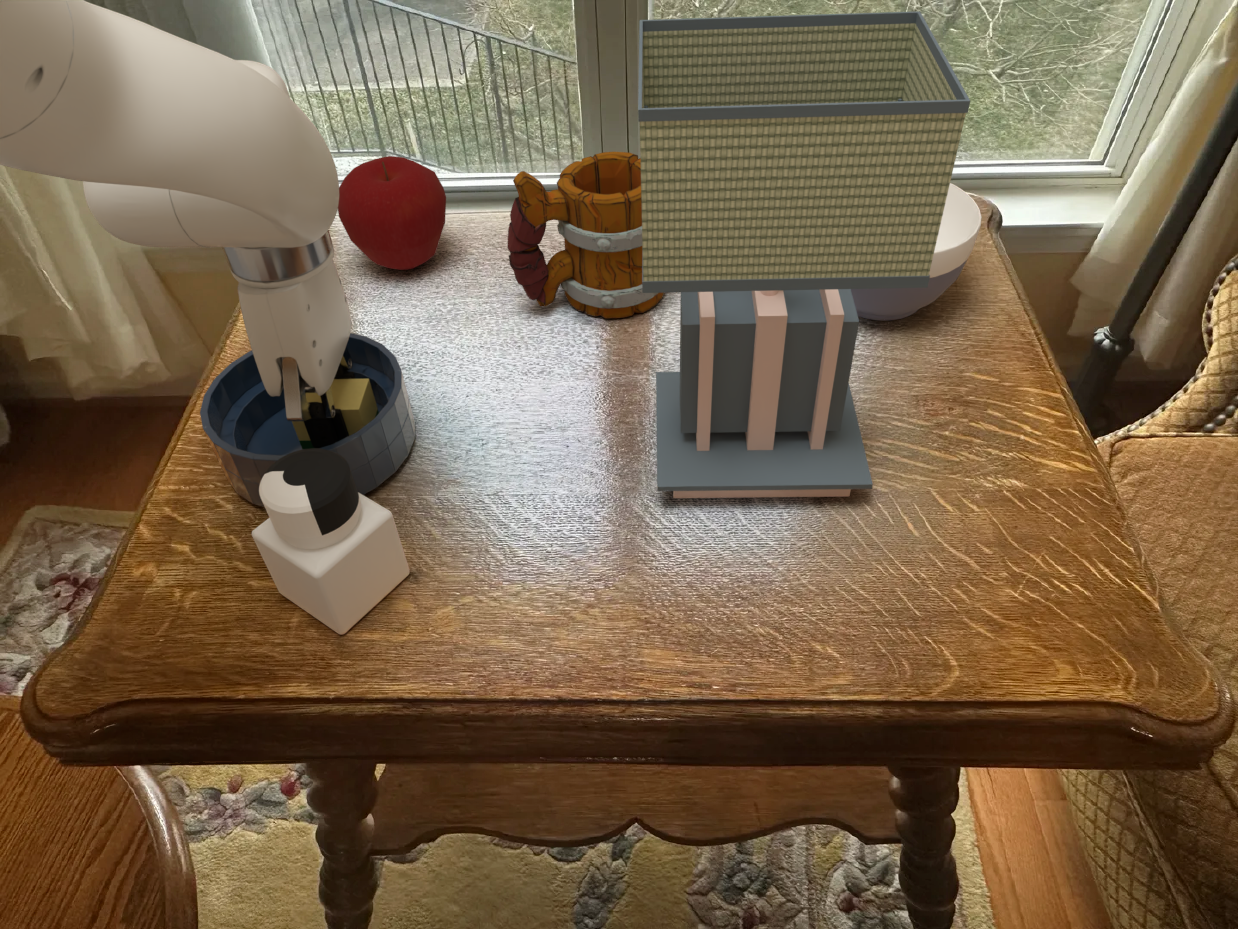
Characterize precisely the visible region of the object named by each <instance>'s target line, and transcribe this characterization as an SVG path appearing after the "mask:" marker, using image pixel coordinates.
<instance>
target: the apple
mask: <svg viewBox="0 0 1238 929" xmlns="http://www.w3.org/2000/svg"><path fill="white" fill-rule="evenodd" d="M446 210H447V195H446V192H445V189H444V186H443V184H442V183H441V181H440V179H439V177H438V175H437V173H436V172H435V171H434V170H432V169H431V168H428V167H427V166H425V165H423V164H421V163H418V162H417V161H414V160H412V159H410V158H406V157H404V156H394V155H386V156H382V157H378V158H375V159H371V160H368V161H365V162H363V163H361V164H359V165H356V166H355V167H353V169H352V170H351V171H350V172H349V173H348V174H347V175H346V176H345V177H344V179H343V180H342V182H341V183H340V184H339V204H338V209H337V212H338V218H339V221H340V222H341V225H342V226H343V228H344V230H345V232H346V234H347V236H348V237H349V240H350V241H351V242H352V244H353V245H354V246H356V248H357V249H358V250H360V252H361V253H363V255H364V256H366V258H368V260H370V261H371V262H372V263H374V264H376V265H378V266H381V267H384V268H387V269H392V270H398V271H407V270H408V271H409V270H413V269H415V268H417V267H419V266H421V265H423V264H425V263H426V262H428V261H429V260H430V259H432V258H433V257H434V256H435V254H436V252H437V249H438V248H439V243H440V240H441V238H442V234H443V230H444V227H445V224H446V214H447V212H446Z"/></svg>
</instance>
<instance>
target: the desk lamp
mask: <svg viewBox="0 0 1238 929" xmlns="http://www.w3.org/2000/svg"><path fill="white" fill-rule="evenodd" d="M638 25H639V26H638V29H639V30H638V33H639V34H638V89H637V90H638V92H637V95H638V96H637V97H638V98H637V99H638V100H637V117H638V118H637V120H638V122H639V150H640V151H639V152H640V156H639V158H641V202H642V293H664V294H665V293H680V316H679V318H680V322H679V326H680V327H679V335H680V336H679V371H655V393H656V394H655V397H656V398H655V401H656V402H655V403H656V406H655V407H656V409H655V411H656V412H655V413H656V414H655V415H656V490H657V492H672V495H673V496H672V497H673V498H672V499H730V498H731V499H732V498H734V499H735V498H740V499H741V498H826V497H827V498H831V497H833V498H834V497H838V498H839V497H850V495H851V490H872V489H873V480H872V475H871V471H870V467H869V466H870V465H869V462H868V458H867V455H866V450H865V445H864V441H863V438H862V432H861V429H860V424H859V420H858V416H857V412H856V411H857V410H856V408H855V403H854V399H853V395H852V390H851V386H850V378H851V370H852V365H853V360H854V354H855V348H856V342H857V337H858V332H859V326H860V319H859V316H858V315H857V311H856V308H855V304H854V300H853V296H852V293H851V289H879V288H927V287H928V283H929V278H930V275H929V272H930V268H931V263H932V259H933V255H934V250H935V246H936V242H937V237H938V233H939V229H940V224H941V220H942V215H943V211H944V207H945V202H946V198H947V194H948V189H949V185H950V183H951V180H952V176H953V171H954V167H955V162H956V158H957V154H958V150H959V146H960V141H961V138H962V137H961V136H962V133H963V128H964V124H965V120H966V115H967V114H969V109H970V103H971V99H970V97H969V96H968V94H967V92H966V90H965V89H964V87H963V85H962V83H961V82H960V80H959V78H958V76H957V74H956V73H955V71H954V69H953V67H952V66H951V64H950V62H949V60H948V59H947V57H946V55H945V53H944V51H943V50H942V48H941V46H940V44H939V42H938V41H937V39H936V37H935V36H934V33H933V31H932V30H931V28H930V26H929V25H928V23H927V22H926V19H925V18H924V16H923V14H922V12H921V11H920V10H919V11H887V12H883V11H882V12H856V13H855V12H853V13H852V12H851V13H850V12H849V13H822V14H821V13H819V14H795V15H794V14H792V15H791V14H790V15H789V14H787V15H786V14H785V15H759V16H757V15H756V16H753V15H752V16H726V17H725V16H724V17H694V18H691V17H690V18H689V17H688V18H663V19H661V18H660V19H639V24H638Z"/></svg>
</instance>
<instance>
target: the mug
mask: <svg viewBox="0 0 1238 929" xmlns="http://www.w3.org/2000/svg"><path fill="white" fill-rule="evenodd" d="M512 181H513V184H514V187H515V188H516V191H517V194H518V196H517V197H515V198H514V201H513V203H512V206H511V209H510V213H509V218H510V222H509V224H508V230H507V250H508V251H509V255H508V261H509V265H510V267H511V269H512V270H513V273H514V274H513V275H514V278H515V281H516V282H517V284H518V285H520V286H521V287H522V289H523V290H524V293H525V295H526V296H527V297H528V299H529V300H531V301H536V303H537V304H538V306H539V307H540V308H544V307H545V308H546V307H548V306H550V305H552V304H554V302H555V300H556V297H557V292H558V291H559V290H558V289H559V287H561V289H562V290H563V291H564V296H565V298H566V300H567V302H568V303H569V304H570V306H571V307H572V308H574V309H575V310H576V311H578V312H581V313H583V314H584V313H585V315H588V316H592V317H595V318H596V317H599V316H601V317H603V318H604V319H625V318H629V317H633V316H634V314H635V313H636V314H644V313H646V312H648V311H650V310H652V309H653V308H655V307H657V305H658V304H659V303H660V302H661V300H662V299H663V298H664V295H665V293H642V202H641V158H640V157H639V155H638V154H635V153H633V152H628V151H604V152H599V153H595V154H593V156H590V155H589V156H586V157H583V158H581V160H575V161H574V162H572V163H570V164H568V165H567V166H566V167H565V168H564V169H562V171H561V172H560V174H559V178H558V180H557V181H556V186H557V189H551V190H550V191H547V190H546V188H545V186H544V184H542V182H541V181H540V180H539V179H538V178H536V177H535V176H534V175H532V174H530V173H528V172H526V171H525V170H522V171H519V172H518V173H517V174H516V175H515V177H514V178H513V179H512ZM550 221H558V222H557V223H558V224H557V226H556V227H557V231H558V232H557V233H558V234H559V235H560V236H562V237H563V242H564V249H562V250H559V251H557V252H556V253H554V254H553V255H552V256H551V257H550V258H549V260H548V262H547V263H546V258H545V254H544V252H543V251H542V249H541V248H540V244H541V243H542V240H543V238H544V237H545V236H544V235H545V233H546V229H547V222H550Z"/></svg>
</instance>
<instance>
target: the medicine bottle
mask: <svg viewBox="0 0 1238 929" xmlns="http://www.w3.org/2000/svg"><path fill="white" fill-rule="evenodd" d="M259 494H260V497H261V500H262V502H263V504H264V507H263V508H264V509H265V511H266V513H267V515H268V518H267V519H265V520H264V521H263V522H262V523H260V524H259V525H258V526H256V527H255V528H254V529H253V530H252V531H251V537H252V539H253V541H254V543H255V545H256V548H257V549H258V551H259V554H260V556H261V558H262V560H263V562H264V564H265V566H266V568H267V570H268V572H269V574H270V577H271V579H272V581H273V583H274V585H275V587H276V589H277V591H278V593H279V594H280V595H282V596H283V597H284V598H286V599H287V600H289V601H290V602H292V603H293V604H295V605H296V606H297V607H299V608H300V609H302V610H303V611H305V612H306V613H308V614H309V615H311V616H312V617H313V618H315V620H317V621H320V622H321V623H322V624H323V625H325V626H326V627H328V628H329V629H331V630H332V631H334V632H335V633H337V634H338V635H339V636H340V635H345V634H346V633H348V631H349V630H350V629H352V628H353V627H354V626H355V625H356V624H357V623H358V622H359V621H360V620H361V619H362V618H364V617H365V616H366V615H367V614H368V613H369V612H370V611H371V610H372V609H374V607H376V606H377V605H378V604H379V603H380V602H381V601H382V600H383V599H384V598H386V597H387V595H389V594H390V593H391V592H392V591H393V590H394V589H395V588H396V587H397V586H398V585H399V584H400V583H401V582H402V581H404V580H405V579H406V578H407V577H408V576H409V575H410V574H411V573H410V572H411V571H410V567H409V563H408V560H407V556H406V553H405V551H404V548H403V544H402V541H401V538H400V535H399V534H400V533H399V531H398V529H397V528H398V527H397V525H396V522H395V518H394V515H393V513H392V512H391V511H390V510H389V509H388V508H386V507H384V506H383V505H380V504H379V503H377V502H376V501H375V500H372V499H371V498H369V497H367V496H366V495H365V494H364V495H362V494H360V493H359V492H358V491H357V488H356V485H355V482H354V479H353V476H352V473H351V470H350V467H349V464H348V463H347V461H346V460H345V459H344V458H343V457H342V456H341V455H339V454H337V453H335V452H332V451H329V450H325V449H319V448H311V449H303V450H299V451H295V452H293V453H290V454H288V455H286V456H284V457H282V458H280V459H279V460H277V461H276V462H275V463H274V464H273V465H271V466H270V468H269V469H268V470H267V471H266V473H265V474H264V476H263V478H262V480H261V482H260V486H259Z"/></svg>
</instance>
